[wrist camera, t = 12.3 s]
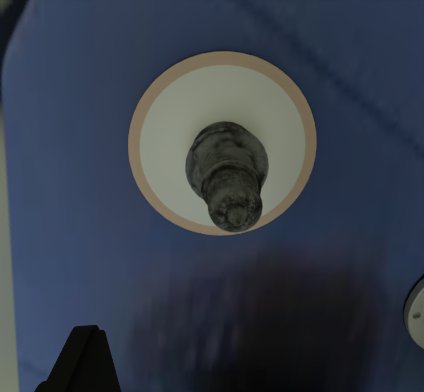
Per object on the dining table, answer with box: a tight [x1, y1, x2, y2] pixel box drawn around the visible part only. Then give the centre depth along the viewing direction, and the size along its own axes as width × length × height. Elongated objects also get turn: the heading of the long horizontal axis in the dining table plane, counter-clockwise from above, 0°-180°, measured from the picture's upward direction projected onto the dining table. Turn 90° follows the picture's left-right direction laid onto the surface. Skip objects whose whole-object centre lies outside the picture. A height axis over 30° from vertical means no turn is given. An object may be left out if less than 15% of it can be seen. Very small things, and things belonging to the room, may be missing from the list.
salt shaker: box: [185, 121, 269, 233], centre depth 21 cm, size 6×6×12 cm
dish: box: [128, 51, 317, 235], centre depth 28 cm, size 15×15×2 cm
